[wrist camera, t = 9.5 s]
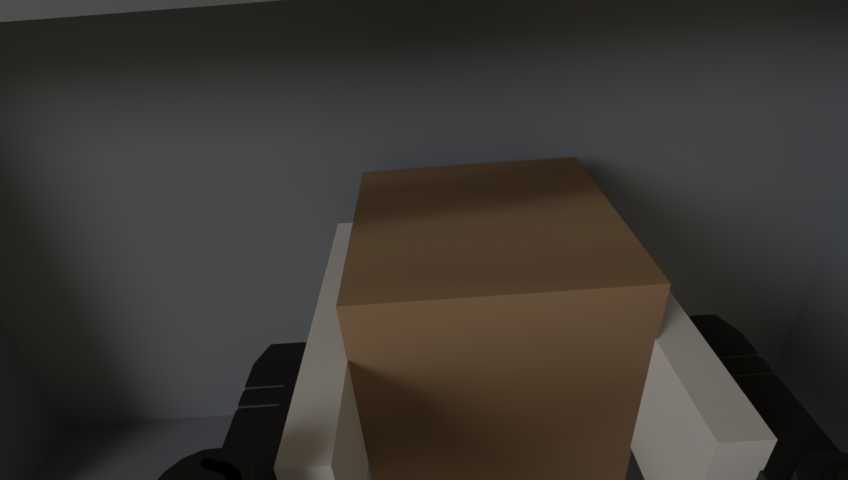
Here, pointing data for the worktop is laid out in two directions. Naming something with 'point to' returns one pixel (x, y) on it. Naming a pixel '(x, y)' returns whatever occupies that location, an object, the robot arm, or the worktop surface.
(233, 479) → the robot arm
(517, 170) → the walnut cube
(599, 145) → the tray
